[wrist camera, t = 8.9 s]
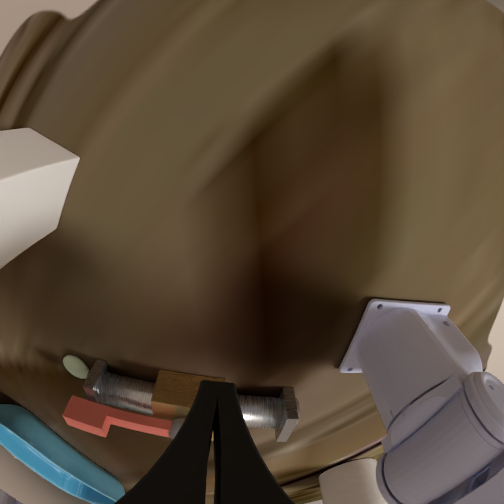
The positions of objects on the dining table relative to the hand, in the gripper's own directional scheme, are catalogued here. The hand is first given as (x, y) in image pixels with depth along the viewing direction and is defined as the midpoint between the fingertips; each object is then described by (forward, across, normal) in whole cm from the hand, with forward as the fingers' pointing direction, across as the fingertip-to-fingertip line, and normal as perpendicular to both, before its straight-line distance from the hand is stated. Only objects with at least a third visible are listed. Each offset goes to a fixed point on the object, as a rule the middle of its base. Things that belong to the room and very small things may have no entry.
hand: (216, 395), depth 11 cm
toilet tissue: (+10, -25, +37) cm, 46 cm away
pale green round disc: (+10, +14, +13) cm, 22 cm away
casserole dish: (+10, +30, +45) cm, 55 cm away
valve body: (+10, +2, +13) cm, 16 cm away
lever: (+6, +7, +13) cm, 16 cm away
